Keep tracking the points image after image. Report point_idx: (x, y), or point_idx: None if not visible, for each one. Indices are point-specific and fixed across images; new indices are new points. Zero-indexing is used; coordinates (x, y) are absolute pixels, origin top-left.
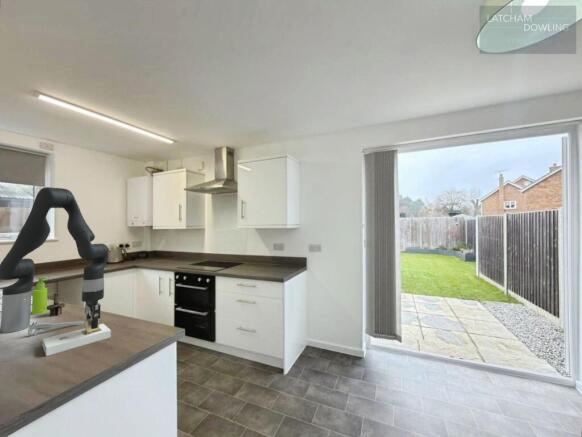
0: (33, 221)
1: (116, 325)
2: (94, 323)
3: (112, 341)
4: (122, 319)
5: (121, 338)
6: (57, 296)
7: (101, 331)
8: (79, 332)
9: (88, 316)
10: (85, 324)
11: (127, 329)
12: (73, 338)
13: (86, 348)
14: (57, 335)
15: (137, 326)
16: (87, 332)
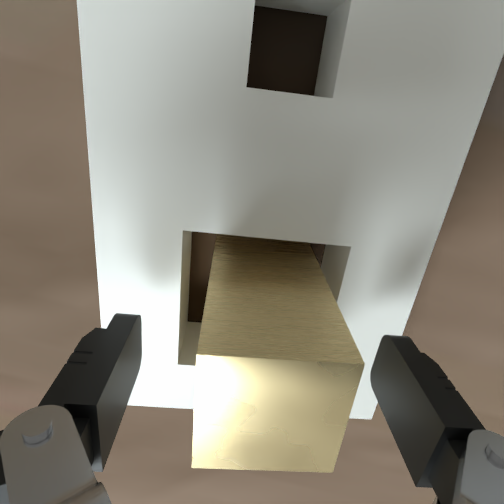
0: None
1: (352, 443)
2: (63, 386)
3: (17, 337)
4: (434, 493)
5: (33, 387)
6: None
7: (148, 352)
8: (325, 223)
9: (430, 430)
10: (313, 315)
11: None
12: (166, 118)
13: (9, 171)
14: (492, 17)
15: (192, 498)
16: (211, 268)
